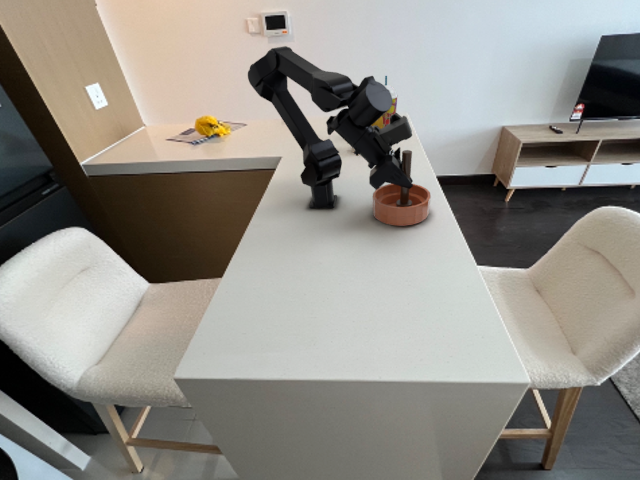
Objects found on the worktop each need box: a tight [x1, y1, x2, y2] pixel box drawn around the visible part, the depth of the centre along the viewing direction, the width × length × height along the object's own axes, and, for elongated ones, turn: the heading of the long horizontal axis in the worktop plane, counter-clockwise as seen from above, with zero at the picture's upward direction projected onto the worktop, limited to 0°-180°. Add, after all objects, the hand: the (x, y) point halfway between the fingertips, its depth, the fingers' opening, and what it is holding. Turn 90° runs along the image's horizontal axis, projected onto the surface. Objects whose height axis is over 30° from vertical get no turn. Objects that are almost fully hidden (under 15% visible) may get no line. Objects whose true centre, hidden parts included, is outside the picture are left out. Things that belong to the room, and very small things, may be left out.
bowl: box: [372, 183, 432, 227], centre depth 80 cm, size 13×13×5 cm
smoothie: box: [382, 75, 399, 128], centre depth 123 cm, size 8×8×20 cm
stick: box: [396, 149, 413, 207], centre depth 75 cm, size 4×4×14 cm
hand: (411, 185), depth 75 cm, fingers closed on stick, 2 cm apart
